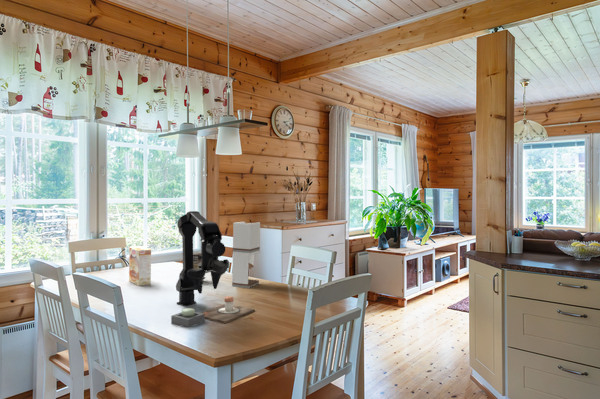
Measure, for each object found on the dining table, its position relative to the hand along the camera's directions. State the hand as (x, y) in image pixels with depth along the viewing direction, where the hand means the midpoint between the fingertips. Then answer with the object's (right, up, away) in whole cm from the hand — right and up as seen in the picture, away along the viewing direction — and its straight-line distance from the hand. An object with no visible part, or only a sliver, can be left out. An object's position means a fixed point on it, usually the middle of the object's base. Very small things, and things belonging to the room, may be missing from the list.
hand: (207, 291), depth 167 cm
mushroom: (+7, -10, +8) cm, 15 cm away
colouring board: (+6, -11, +6) cm, 14 cm away
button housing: (-7, -11, -6) cm, 14 cm away
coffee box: (-23, -10, +66) cm, 70 cm away
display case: (+8, -10, +60) cm, 61 cm away
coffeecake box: (-52, -9, +60) cm, 80 cm away
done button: (-6, -8, -6) cm, 12 cm away
